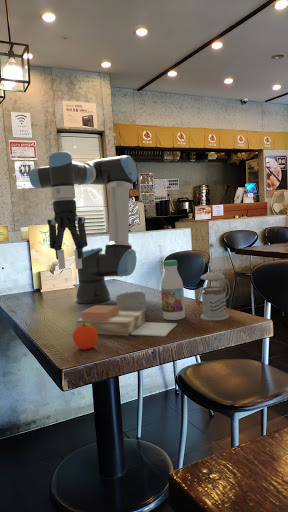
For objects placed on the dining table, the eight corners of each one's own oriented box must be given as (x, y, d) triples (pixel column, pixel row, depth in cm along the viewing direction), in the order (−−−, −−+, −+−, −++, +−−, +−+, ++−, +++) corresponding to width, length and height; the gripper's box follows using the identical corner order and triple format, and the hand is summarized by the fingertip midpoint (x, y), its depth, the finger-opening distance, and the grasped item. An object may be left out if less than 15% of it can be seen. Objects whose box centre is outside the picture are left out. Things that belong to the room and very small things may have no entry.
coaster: (95, 311, 129) (94, 305, 129) (118, 312, 126) (118, 305, 126) (81, 318, 121) (81, 312, 121) (106, 319, 118) (105, 312, 117)
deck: (98, 320, 132) (97, 309, 132) (145, 322, 125) (144, 310, 125) (77, 332, 119) (76, 320, 119) (128, 335, 112) (127, 322, 112)
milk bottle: (167, 314, 134) (163, 259, 132) (188, 315, 131) (184, 258, 129) (159, 320, 127) (155, 262, 125) (181, 321, 124) (177, 261, 122)
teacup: (148, 318, 130) (146, 296, 130) (117, 321, 130) (115, 298, 129) (145, 308, 144) (143, 288, 143) (117, 311, 144) (115, 291, 143)
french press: (194, 316, 128) (189, 244, 126) (219, 310, 134) (216, 241, 132) (213, 322, 120) (208, 245, 117) (239, 315, 126) (235, 241, 123)
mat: (145, 323, 124) (145, 322, 124) (177, 324, 120) (176, 323, 120) (131, 334, 113) (130, 333, 113) (165, 336, 109) (164, 335, 109)
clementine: (89, 341, 109) (86, 318, 109) (106, 345, 105) (104, 320, 104) (68, 350, 103) (66, 325, 102) (86, 354, 99) (83, 328, 98)
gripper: (33, 202, 124) (40, 270, 126) (82, 197, 116) (89, 269, 119) (47, 202, 131) (53, 267, 133) (94, 197, 123) (100, 266, 125)
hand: (70, 268), depth 126 cm, fingers open, 6 cm apart
